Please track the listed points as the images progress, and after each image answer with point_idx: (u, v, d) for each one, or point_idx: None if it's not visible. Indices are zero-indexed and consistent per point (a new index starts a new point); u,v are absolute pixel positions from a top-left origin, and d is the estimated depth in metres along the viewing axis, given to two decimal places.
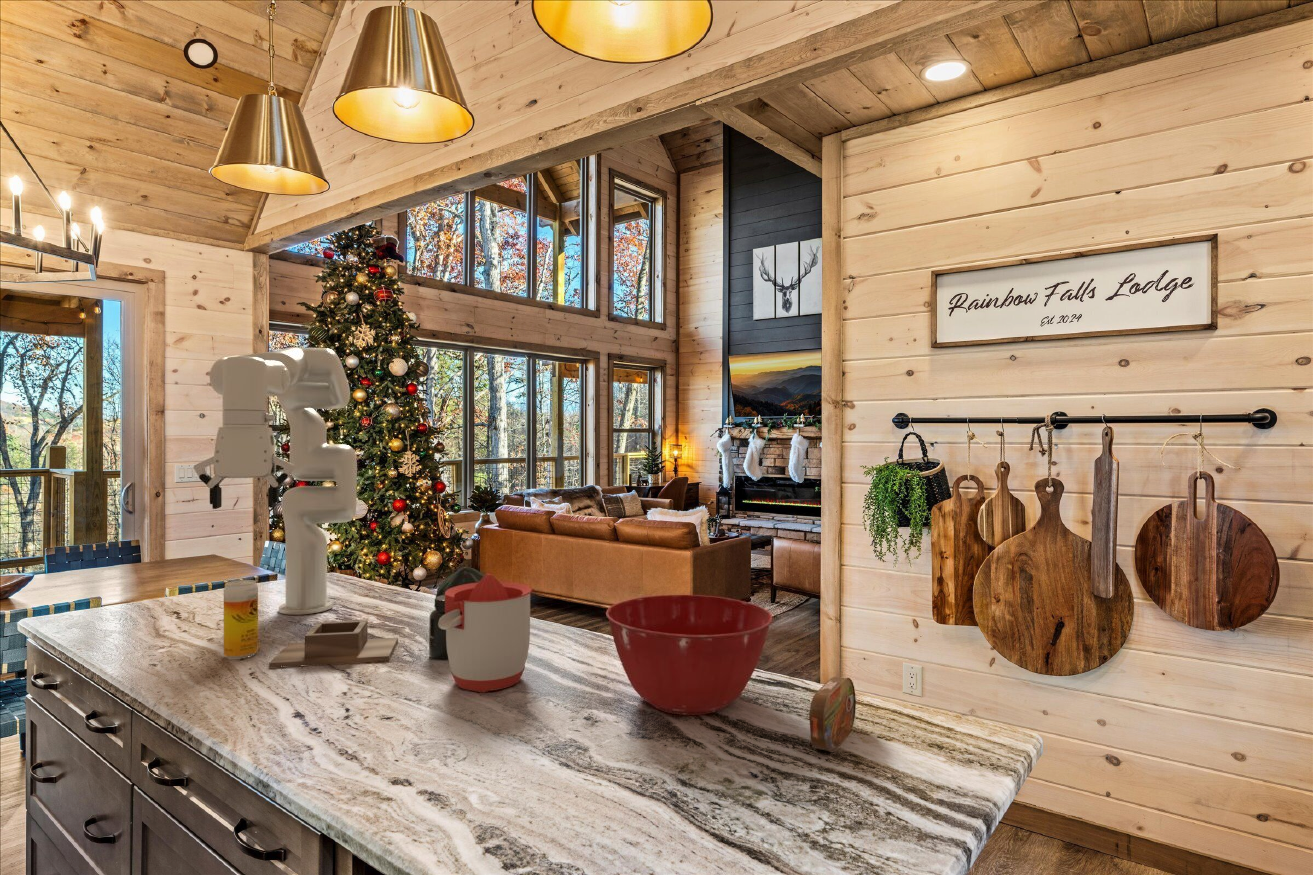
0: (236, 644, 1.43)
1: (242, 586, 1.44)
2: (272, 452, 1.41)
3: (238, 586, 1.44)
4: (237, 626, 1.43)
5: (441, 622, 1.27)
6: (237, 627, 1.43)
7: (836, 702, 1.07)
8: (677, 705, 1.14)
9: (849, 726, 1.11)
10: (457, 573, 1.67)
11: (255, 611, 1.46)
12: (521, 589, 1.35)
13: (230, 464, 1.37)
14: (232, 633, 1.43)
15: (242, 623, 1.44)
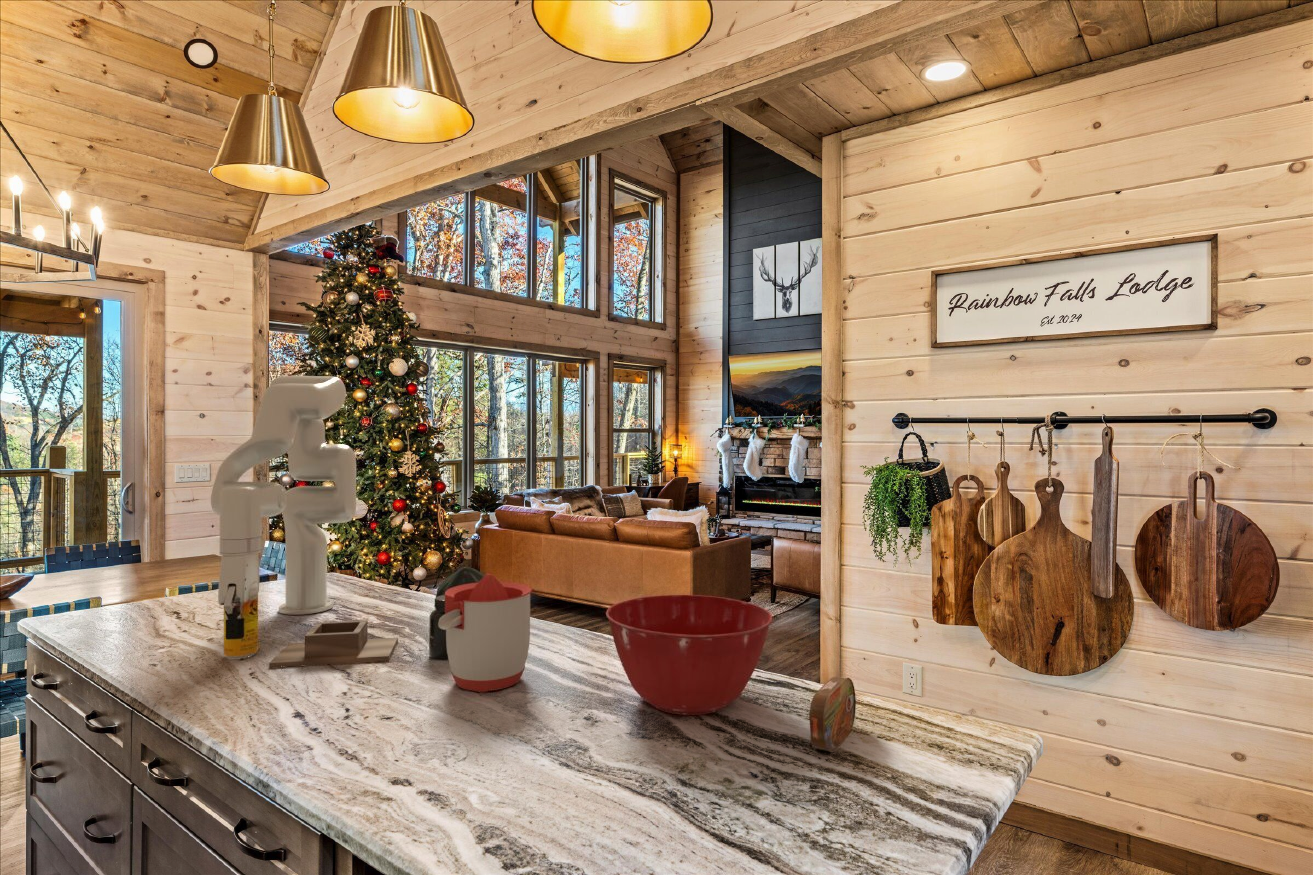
0: (236, 644, 1.43)
1: None
2: None
3: None
4: None
5: (441, 622, 1.27)
6: None
7: (836, 702, 1.07)
8: (677, 705, 1.14)
9: (849, 726, 1.11)
10: (457, 573, 1.67)
11: (255, 611, 1.46)
12: (521, 589, 1.35)
13: None
14: None
15: None
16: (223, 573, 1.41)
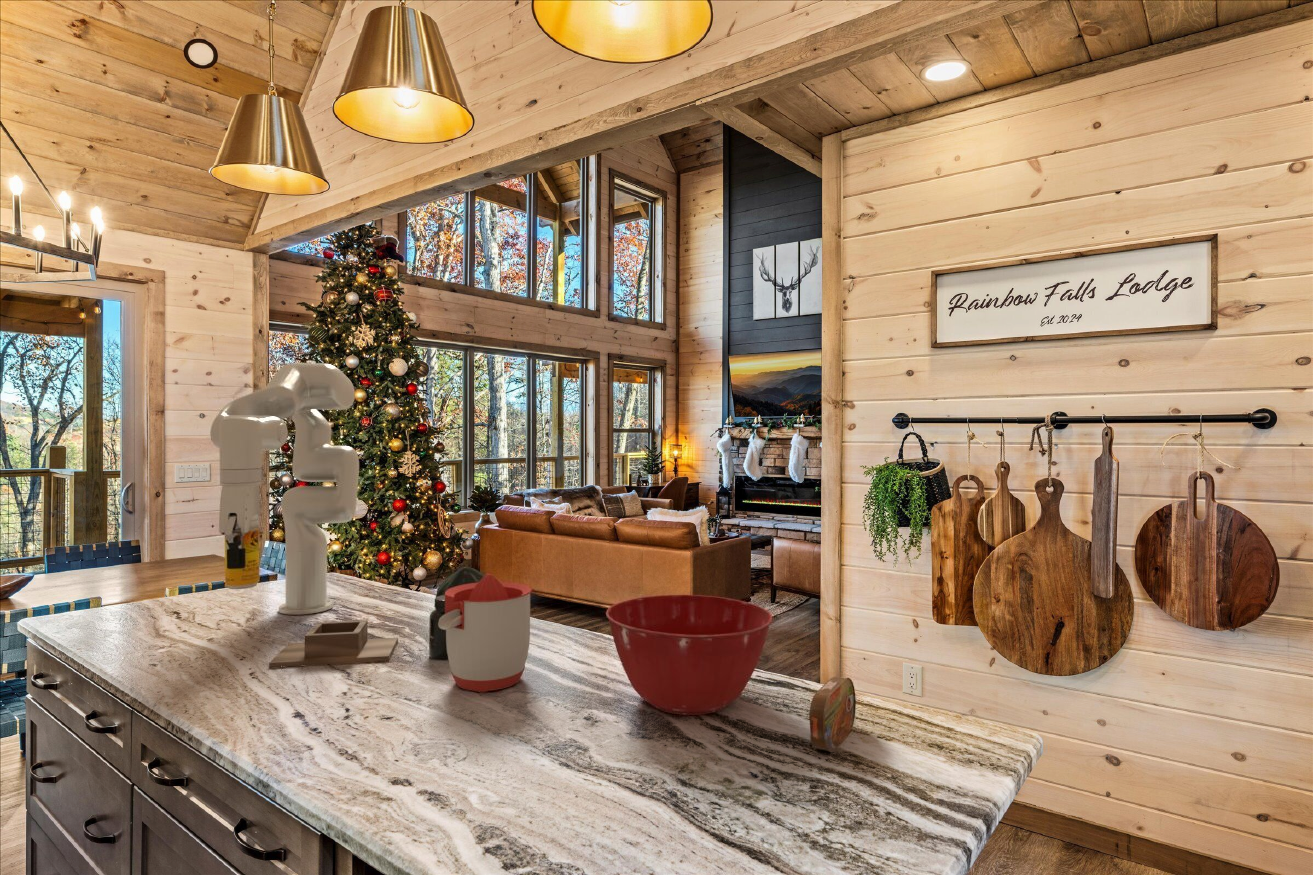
0: (237, 574, 1.44)
1: None
2: None
3: None
4: None
5: (441, 622, 1.27)
6: None
7: (836, 702, 1.07)
8: (677, 705, 1.14)
9: (849, 726, 1.11)
10: (457, 573, 1.67)
11: (256, 542, 1.46)
12: (521, 589, 1.35)
13: (250, 520, 1.45)
14: None
15: None
16: (224, 503, 1.41)
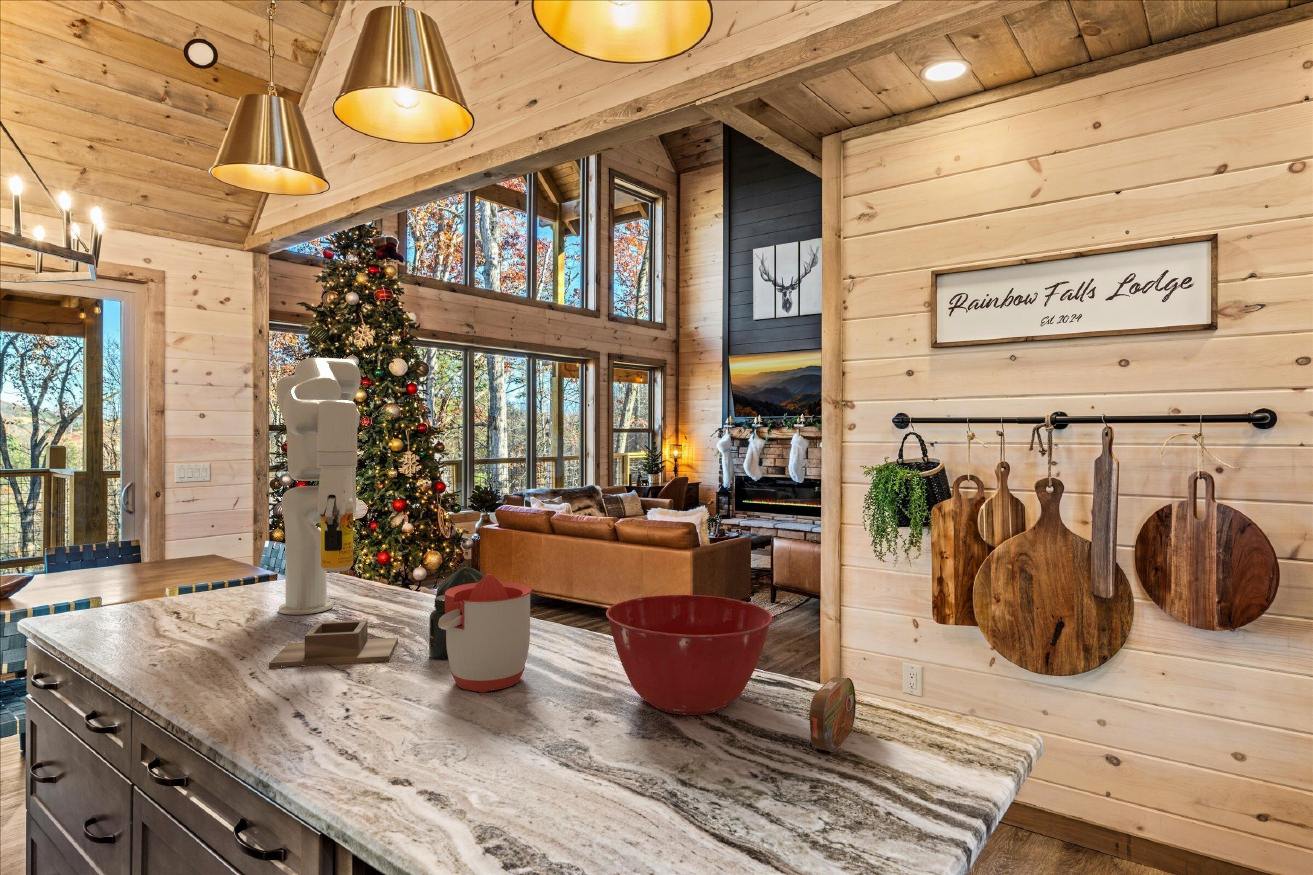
0: (334, 556, 1.44)
1: None
2: None
3: None
4: None
5: (441, 622, 1.27)
6: None
7: (836, 702, 1.07)
8: (677, 705, 1.14)
9: (849, 726, 1.11)
10: (457, 573, 1.67)
11: (351, 525, 1.47)
12: (521, 589, 1.35)
13: None
14: None
15: None
16: (323, 485, 1.42)
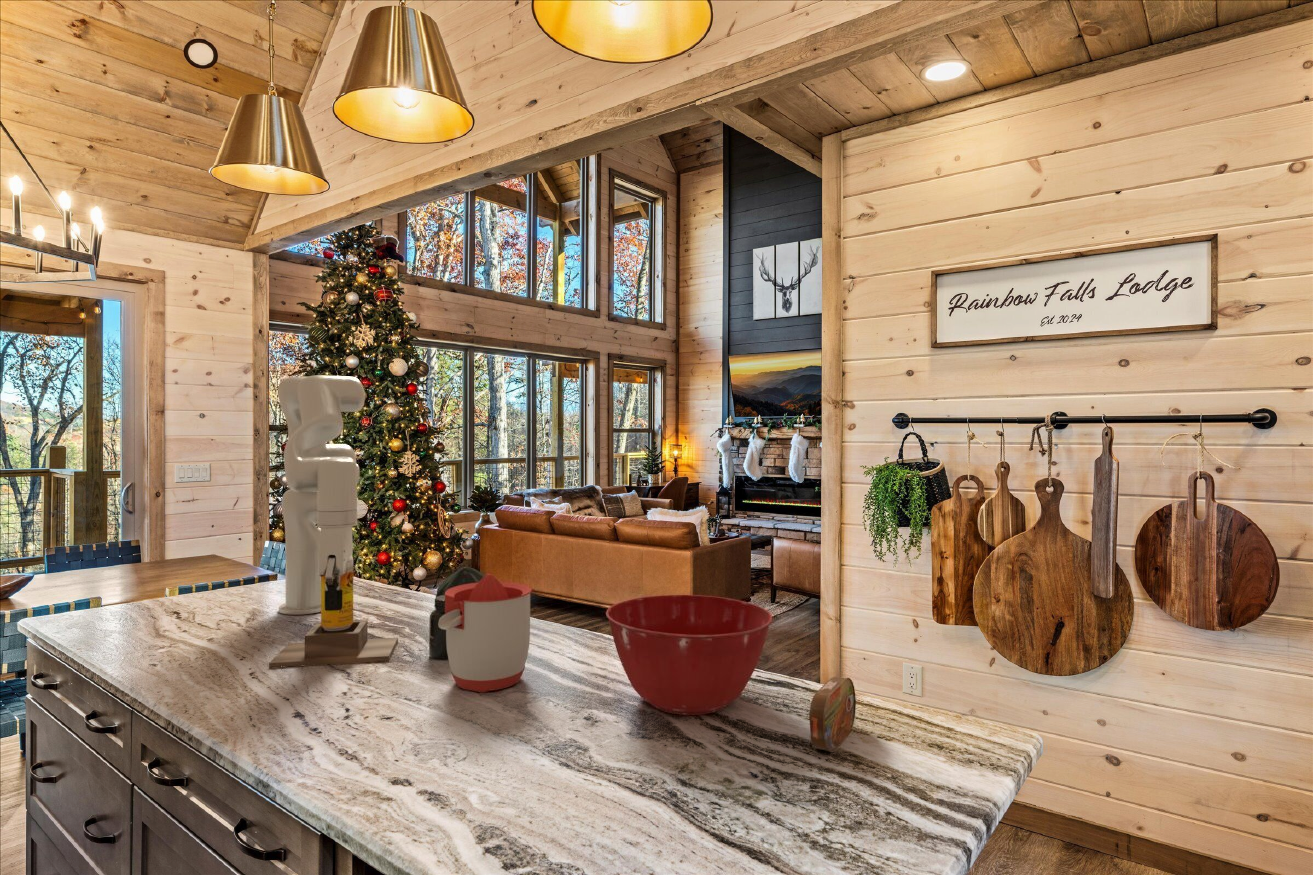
0: (334, 616, 1.44)
1: None
2: None
3: None
4: None
5: (441, 622, 1.27)
6: None
7: (836, 702, 1.07)
8: (677, 705, 1.14)
9: (849, 726, 1.11)
10: (457, 573, 1.67)
11: (351, 584, 1.47)
12: (521, 589, 1.35)
13: None
14: None
15: None
16: (323, 545, 1.42)
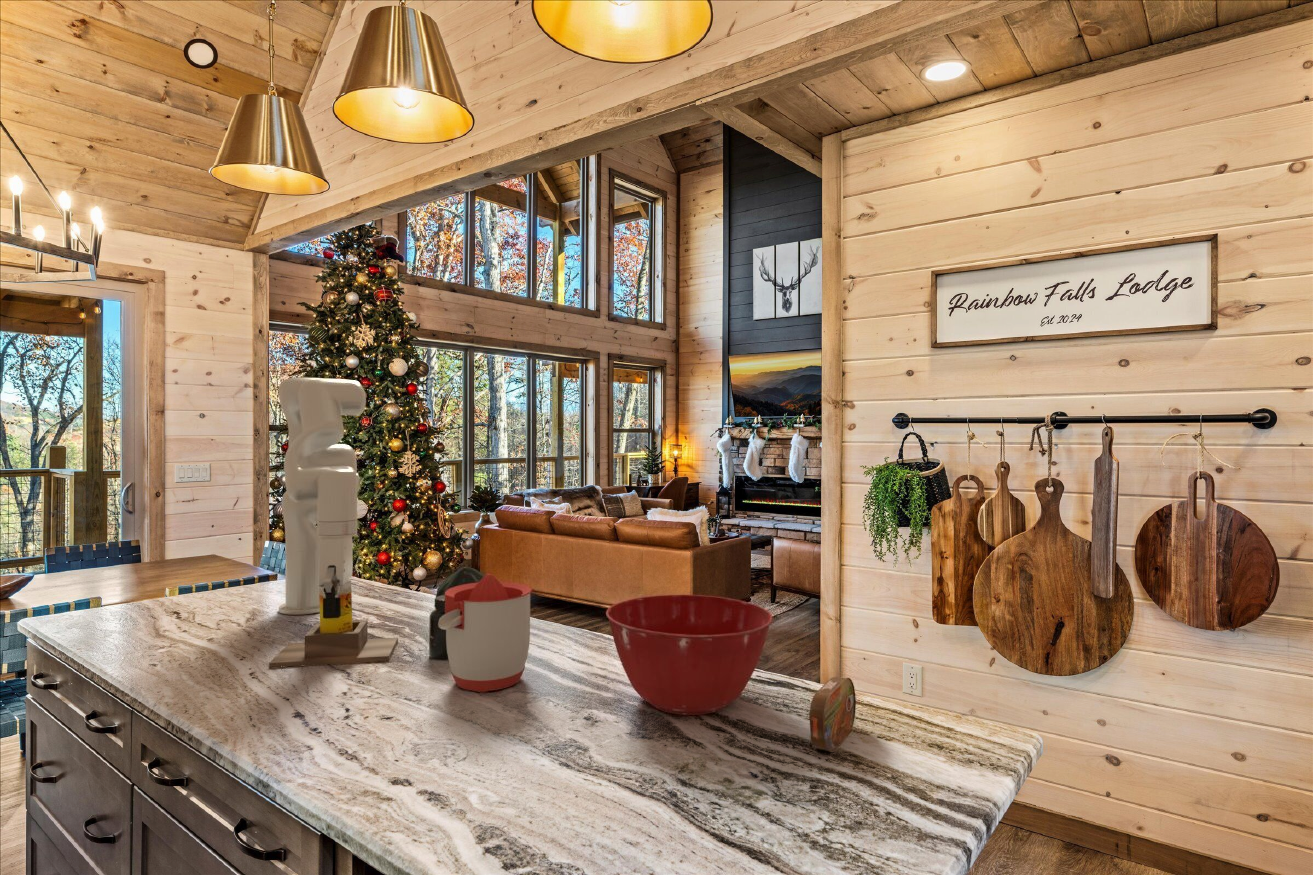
0: None
1: None
2: None
3: None
4: (334, 619, 1.44)
5: (441, 622, 1.27)
6: (334, 620, 1.44)
7: (836, 702, 1.07)
8: (677, 706, 1.14)
9: (849, 726, 1.11)
10: (457, 573, 1.67)
11: (349, 605, 1.47)
12: (521, 589, 1.35)
13: (347, 571, 1.46)
14: (330, 627, 1.44)
15: None
16: (323, 555, 1.42)
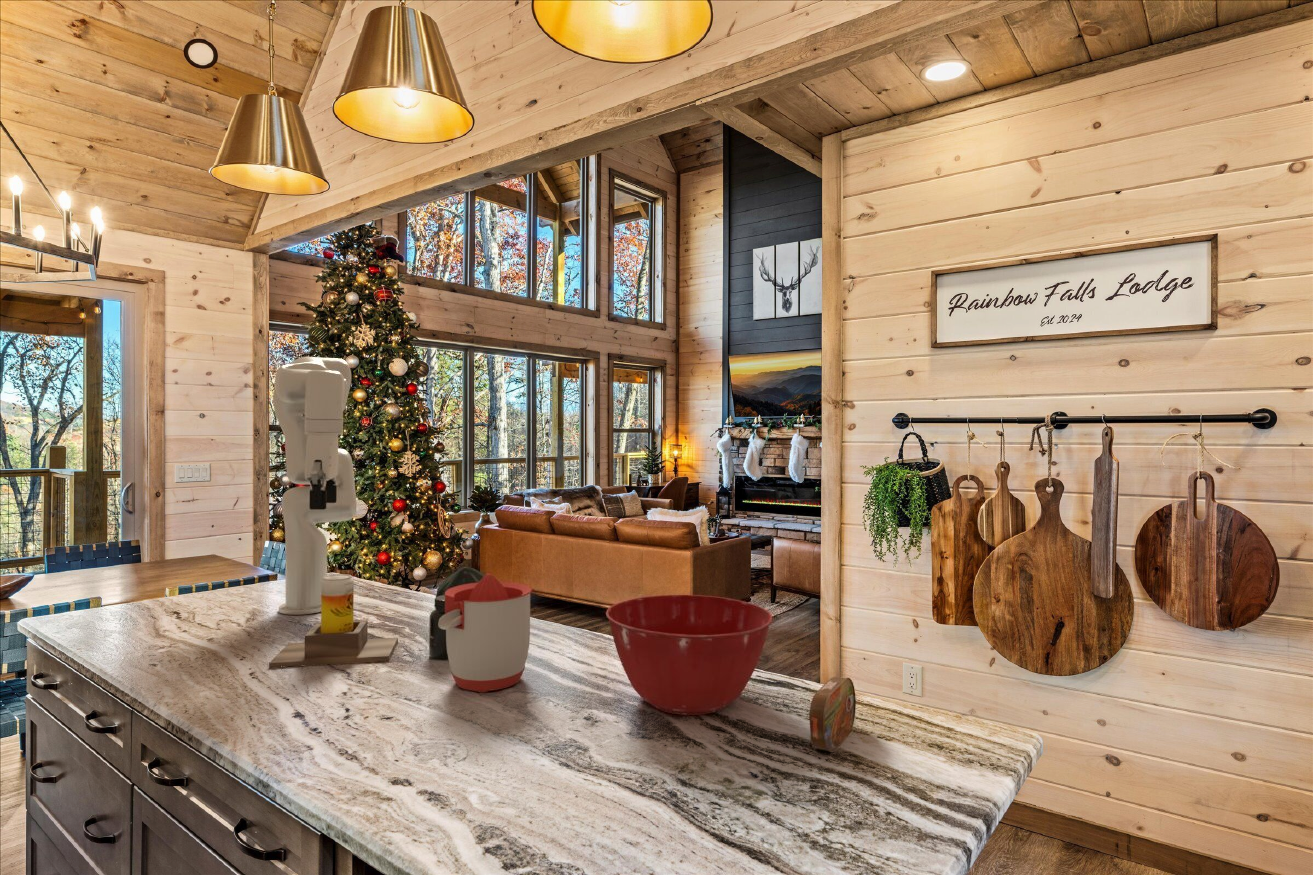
0: None
1: (340, 580, 1.45)
2: None
3: (336, 580, 1.45)
4: (335, 619, 1.44)
5: (441, 622, 1.27)
6: (335, 621, 1.44)
7: (836, 702, 1.07)
8: (677, 705, 1.14)
9: (849, 726, 1.11)
10: (457, 573, 1.67)
11: (351, 605, 1.47)
12: (521, 589, 1.35)
13: (333, 467, 1.54)
14: (331, 627, 1.44)
15: (340, 617, 1.45)
16: (310, 450, 1.50)
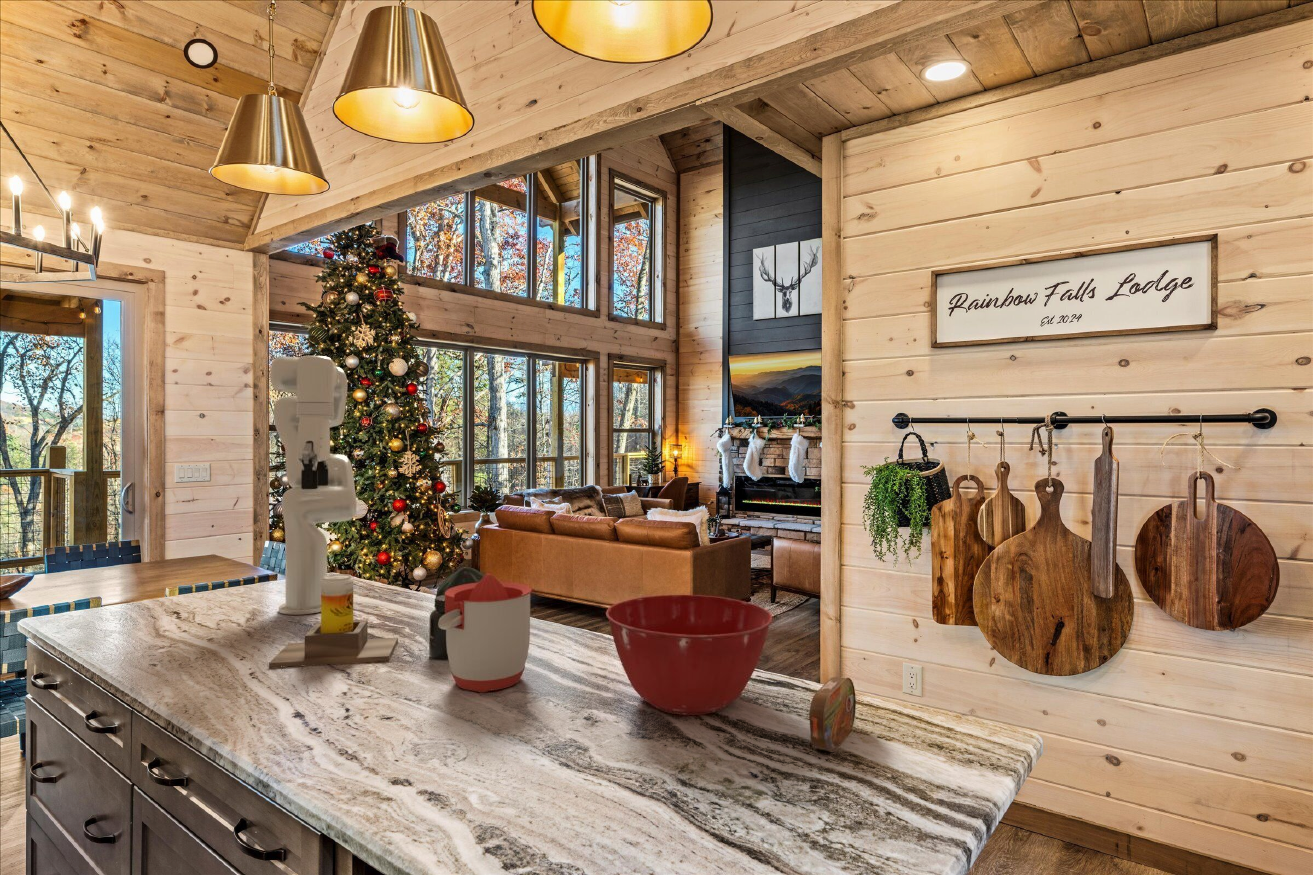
0: None
1: (340, 580, 1.45)
2: None
3: (336, 580, 1.45)
4: (335, 619, 1.44)
5: (441, 622, 1.27)
6: (335, 621, 1.44)
7: (836, 702, 1.07)
8: (677, 705, 1.14)
9: (849, 726, 1.11)
10: (457, 573, 1.67)
11: (351, 605, 1.47)
12: (521, 589, 1.35)
13: (324, 449, 1.59)
14: (331, 627, 1.44)
15: (340, 617, 1.45)
16: (302, 432, 1.56)
